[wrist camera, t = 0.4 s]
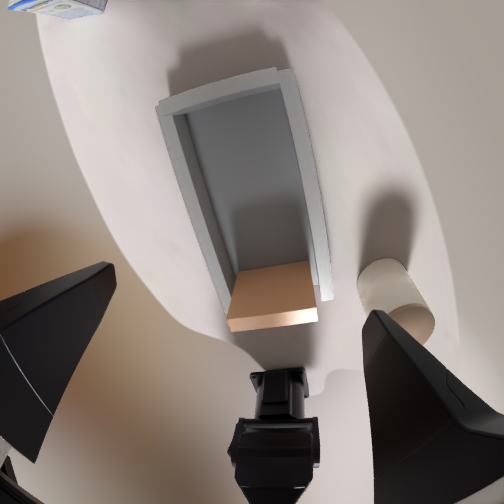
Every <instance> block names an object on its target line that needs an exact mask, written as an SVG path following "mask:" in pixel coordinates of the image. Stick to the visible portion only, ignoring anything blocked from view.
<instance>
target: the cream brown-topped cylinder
mask: <svg viewBox="0 0 504 504" xmlns="http://www.w3.org/2000/svg"><path fill="white" fill-rule="evenodd" d="M357 291H358V294H359V297H360V300H361V303H362V306H363V309H364V312H365V315H366V318H368V316H369V313H370V312H371V311H372V310H373V309H376V310H383V311H384V312H385V313H387V314H388V315H389V316H390V317H391V318H392V319H393V320H395V321H396V322H397V323H398V324H399V325H400V326H401V327H402V328H404V329H405V330H406V331H407V332H408V333H409V334H410V335H411V336H412V337H414V338H415V339H416V340H417V341H418V342H419V343H420V344H421V345H423V344H424V343H425V342H426V341H427V340H428V339H429V337H430V336H431V334H432V332H433V330H434V326H435V319H434V316H433V314H432V313H431V311H430V309H429V307H428V306H427V304H426V302H425V301H424V299H423V297H422V295H421V294H420V292H419V291H418V289H417V287H416V286H415V284H414V282H413V281H412V279H411V278H410V276H409V274H408V273H407V271H406V270H405V268H404V267H403V265H402V264H401V263H400V262H398V261H397V260H395V259H390V258H384V259H379V260H376V261H374V262H372V263H371V264H369V265H368V266H367V267H366V268H365V269H364V270H363V271H362V272H361V274H360V275H359V278H358V280H357Z"/></svg>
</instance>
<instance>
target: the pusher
mask: <svg viewBox="0 0 504 504" xmlns="http://www.w3.org/2000/svg"><path fill="white" fill-rule="evenodd" d="M226 321H227V323H228V325H229V328H230V330H231V332H237V331H247V330H256V329H265V328H273V327H281V326H288V325H295V324H302V323H309V322H315V321H318V317H317V309H316V302H315V295H314V288H313V282H312V275H311V269H310V263H309V260H307V261H301V262H295V263H289V264H283V265H277V266H271V267H265V268H259V269H253V270H247V271H240V272H238V274H237V278H236V282H235V286H234V290H233V294H232V298H231V302H230V306H229V310H228V314H227V318H226Z"/></svg>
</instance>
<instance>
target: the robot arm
mask: <svg viewBox="0 0 504 504" xmlns="http://www.w3.org/2000/svg"><path fill="white" fill-rule="evenodd" d="M116 285H117V282H116V275H115V268H114V265H113V264H112V263H109V262H105V261H103V262H100V263H97V264H94V265H91V266H89V267H86V268H83V269H80V270H78V271H75V272H73V273H70V274H67V275H65V276H62V277H59V278H57V279H54V280H52V281H49V282H46V283H44V284H41V285H39V286H36V287H34V288H31V289H29V290H26V291H25V292H21V293H19V294H17V295H14V296H12V297H9V298H6V299H4V300H1V301H0V504H44V503H43V502H41V501H40V500H38V499H37V498H35V497H34V496H33V495H31V494H30V493H28V492H27V491H26V490H24V489H23V488H22V487H20V486H19V485H18V483H17V480H16V477H15V474H14V470H13V467H12V464H11V460H10V457H9V456H8V455H7V454H8V452H9V450H10V448H11V447H12V448H13V449H15V450H16V451H17V452H19V453H20V454H21V455H22V456H24V457H25V458H27V459H28V460H29V461H31V462H32V463H35V462H36V459H37V457H38V454H39V451H40V448H41V446H42V443H43V441H44V438H45V435H46V433H47V430H48V428H49V426H50V423H51V420H52V418H53V415H54V413H55V411H56V409H57V406H58V404H59V402H60V400H61V398H62V396H63V393H64V391H65V389H66V387H67V385H68V383H69V381H70V379H71V377H72V375H73V373H74V371H75V369H76V367H77V365H78V363H79V361H80V359H81V357H82V355H83V353H84V351H85V349H86V348H87V346H88V344H89V342H90V340H91V339H92V337H93V335H94V333H95V331H96V330H97V328H98V326H99V324H100V322H101V320H102V318H103V316H104V314H105V311H106V309H107V307H108V305H109V302H110V300H111V298H112V296H113V294H114V292H115V289H116ZM362 345H363V366H364V376H365V383H366V391H367V399H368V407H369V416H370V426H371V438H372V451H373V469H374V504H504V415H503V414H500V413H498V412H496V411H495V410H494V409H492V408H491V407H490V406H489V405H488V404H487V403H485V402H484V401H483V400H482V399H481V398H480V397H478V396H477V395H476V394H475V393H474V392H472V391H471V390H470V389H469V388H468V387H466V386H465V385H464V384H463V383H462V382H461V381H460V380H459V379H458V378H457V377H456V376H455V375H453V374H452V373H451V372H450V371H449V370H448V369H446V367H445V366H444V365H443V364H442V363H441V362H440V361H439V360H438V359H436V358H435V357H434V356H433V355H432V354H431V353H430V352H429V351H428V350H427V349H426V348H425V347H423V346H422V345H421V344H420V343H419V342H418V341H417V340H416V339H415V338H414V337H412V336H411V335H410V334H409V333H408V332H407V331H406V330H405V329H404V328H402V327H401V326H400V325H399V324H398V323H397V322H396V321H395V320H393V319H392V318H391V317H390V316H389V315H388V314H387V313H385V312H384V311H383V310H376V309H373V310H372V311H371V312H370V313H369V316H368V318H367V320H366V322H365V324H364V326H363V329H362ZM250 379H251V381H252V383H253V386H254V388H255V390H256V392H257V399H256V408H255V418H254V419H245V418H239V422H238V423H237V424H236V428H235V432H234V436H233V439H232V442H231V444H230V446H229V448H228V451H227V453H228V455H229V456H230V457H231V462H232V466H233V467H236V468H235V479H236V481H237V484H238V485H239V487H240V488H241V490H242V492H243V494H244V495H245V497H246V499H247V500H248V502H249V504H296V503H297V502H298V500H299V499H300V498H301V496H302V495H303V493H304V492H305V491H306V489H307V488H308V486H309V485H310V482H311V481H312V478H313V468H318V467H319V463H320V439H319V428H318V417H313V418H304V398H308V397H309V392H308V386H307V381H306V375H305V370H304V369H303V368H294V369H285V370H275V371H264V372H253V373H251V374H250Z"/></svg>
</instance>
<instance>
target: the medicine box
mask: <svg viewBox="0 0 504 504" xmlns="http://www.w3.org/2000/svg"><path fill="white" fill-rule="evenodd" d="M106 2H107V0H10V2H9V4H8V10H17V11H25V12H31V13H38V14H44V15H50V16H54V17H59V18H64V19H73V18H78V17H83V16H88V15H94V14H101V13H103V11H104V8H105V5H106Z"/></svg>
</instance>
